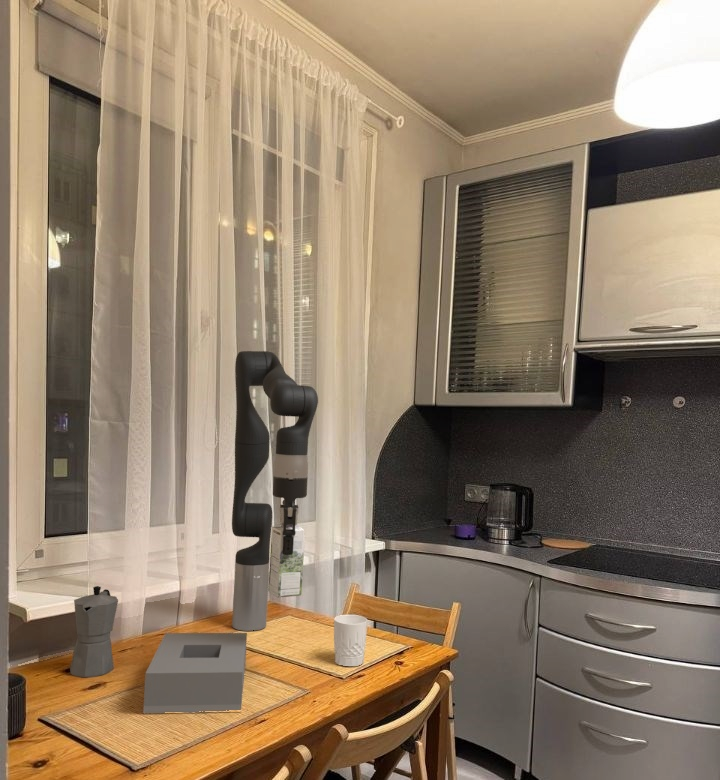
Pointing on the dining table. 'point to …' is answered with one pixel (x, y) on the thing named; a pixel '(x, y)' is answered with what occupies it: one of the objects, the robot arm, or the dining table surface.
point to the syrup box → (286, 564)
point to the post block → (196, 673)
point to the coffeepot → (94, 634)
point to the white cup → (349, 639)
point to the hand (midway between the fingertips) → (287, 551)
